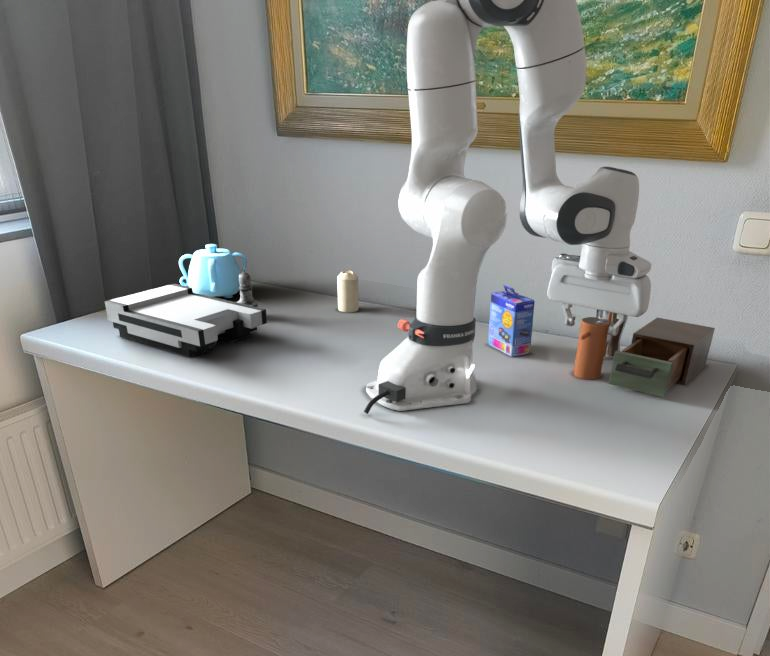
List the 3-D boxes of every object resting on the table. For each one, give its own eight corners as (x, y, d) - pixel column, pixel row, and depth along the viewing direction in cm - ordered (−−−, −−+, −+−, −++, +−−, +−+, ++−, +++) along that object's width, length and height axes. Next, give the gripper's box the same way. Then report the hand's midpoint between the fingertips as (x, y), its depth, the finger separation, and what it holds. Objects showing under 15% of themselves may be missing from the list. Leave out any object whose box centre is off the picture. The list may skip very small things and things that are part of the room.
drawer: (656, 403, 135) (664, 370, 132) (600, 390, 141) (606, 357, 138) (685, 377, 147) (693, 345, 144) (633, 365, 153) (639, 335, 149)
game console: (202, 362, 156) (197, 325, 152) (111, 335, 172) (104, 301, 167) (268, 338, 170) (265, 303, 166) (178, 315, 186) (174, 283, 182)
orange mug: (579, 368, 154) (588, 315, 148) (604, 374, 151) (614, 319, 145) (562, 380, 148) (570, 325, 142) (587, 386, 145) (596, 330, 139)
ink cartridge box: (485, 344, 167) (490, 281, 159) (505, 341, 169) (510, 279, 162) (510, 357, 160) (517, 292, 152) (530, 353, 162) (538, 289, 154)
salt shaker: (248, 312, 189) (243, 265, 183) (264, 315, 186) (260, 268, 180) (232, 317, 185) (226, 269, 179) (248, 321, 182) (243, 273, 176)
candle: (358, 312, 189) (357, 274, 184) (337, 312, 189) (336, 273, 184) (359, 306, 194) (358, 269, 188) (338, 306, 194) (337, 268, 188)
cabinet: (684, 385, 146) (694, 345, 141) (625, 371, 152) (633, 333, 148) (705, 365, 156) (714, 327, 151) (649, 354, 162) (657, 317, 158)
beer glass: (622, 360, 158) (635, 292, 150) (590, 358, 159) (601, 290, 151) (620, 350, 164) (632, 284, 156) (589, 348, 165) (599, 282, 157)
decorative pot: (257, 294, 204) (253, 244, 197) (211, 305, 194) (205, 253, 187) (222, 284, 214) (216, 236, 207) (176, 294, 203) (169, 244, 196)
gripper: (547, 254, 141) (537, 323, 148) (648, 270, 131) (633, 343, 138) (560, 249, 146) (550, 317, 153) (660, 265, 135) (644, 336, 143)
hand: (590, 330), depth 145 cm, fingers open, 8 cm apart
